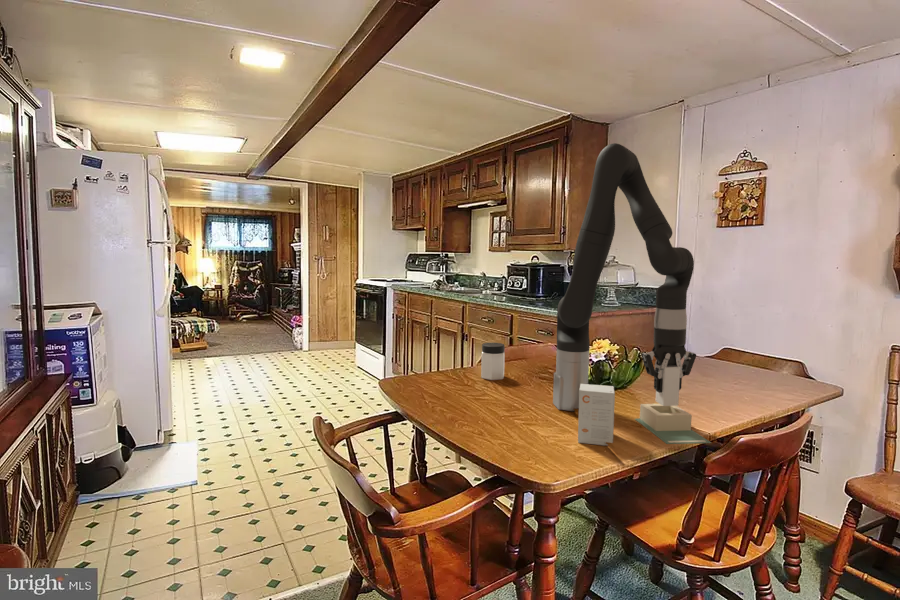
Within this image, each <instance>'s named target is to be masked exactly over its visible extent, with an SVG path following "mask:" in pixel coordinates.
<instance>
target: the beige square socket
mask: <svg viewBox="0 0 900 600" xmlns="http://www.w3.org/2000/svg"><path fill="white" fill-rule="evenodd" d="M639 406H640V407H639V418H640V419H641V420H642V421H644V422H645V423H646V424H648V425H649V426H650V427H652V428H653V429H654V430H655V431H683V430H692V416H693V415H692V414H691V413H689V411H686V410H684V409H683V408H681V407H679V405H678V406H663V405H661V404H659V403H658V402H653V403H640V405H639Z"/></svg>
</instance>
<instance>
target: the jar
mask: <svg viewBox="0 0 900 600" xmlns="http://www.w3.org/2000/svg"><path fill="white" fill-rule="evenodd" d="M505 349H506V348H505V344H504V343H501V342H484V343H482V344H481V361H480V362H481V363H480V364H481V366H480V367H481V369H480V373H481V374H480V375H481V376H480V378H481V379H483V380H484V379H486V380H489V381H499V380H503V379H504V378H505Z"/></svg>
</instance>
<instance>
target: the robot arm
mask: <svg viewBox="0 0 900 600" xmlns="http://www.w3.org/2000/svg"><path fill="white" fill-rule="evenodd" d="M592 177H593V178H592V182H591V190H590V194H589V198H588V201H587V203H586V204H587V205H586V208H585V212H584V217H583V219H582V223H581V227H580V229H579V231H578V232H579V233H578V236H577V240H576V244H575V248H574V255H573V256H574V257H573V262H572V263H573V265H572V273H571V276H570V281H569V283H568V286H567V289H566V292H565V294H564V296H563V297H562V298H561V299H560V300H559V302H558V305H557V310H556V311H557V312H556V313H557V314H556V359H555V362H556V365H555V372H553V388H552V389H553V390H552V391H553V393H552V404H553V405H554V406H555V408H556V409H557V410H561V411H569V412H575V409H576V410H577V409H578V410H579V389H580V384H589V372H590V371H589V370H590V369H589V366H590V364H589V363H590V319H591V318H592V314H593V308H594V302H595V297H596V296H595V295H596V291H597V285H598V282H599V281H600V280H599V279H600V276H601V275H602V273H603V271H604V270H603V269H604V268H605V264H606V262H607V258H608V256H609V252H610V249H611V247H612V243H613V241H614V236H615V232H616V231H615V230H616V210H615V209H616V208H615V206H616V205H615V202H616V195H617V192H618V191H617V190H618V189H620V190H621V192H622V193H623V194H624V196H625V198H626V200H627V202H628V205H629V208H630V212H631V216H632V219H633V221H634V224H635V227H636V229H638V232H639V233H640V235H641V237H642V239H643V240H644V242H645V248H646V251H647V256H648V259H649V262H650V266H651V267H652V269H654V271H655V272H656V273H657V274H659V275H661V276H665V280H664V283H663V284H662V285H659V286H658V287H657V289H656V293H655V294H656V295H655V298H656V299H655V300H656V301H655V311H654V318H653V320H654V321H653V348H652V349H651V351H649V352H642V353H641V358H642V362H643V364H644V369H645V372H646V374H647V375H650V376H651V377H653V389H654V390H655V392H656V391H657V392H659V393H661V392H662V384H663V379H662V376H663V370H664V367H667V365H676V366H677V367H680V382H679V391H680V390H681V389H682V384H683V383H682V382H683V377H685V376H690V374H691V371H692V368H693V366H694V363H695V360H696V358H697V354H696V353H694V352H693V351H687V350H686V346H685V345H686V342H687V341H686V340H687V325H688V324H687V323H688V317H687V298H688V296H687V293H688V290H689V287H690V283H691V281H692V276H693V272H694V267H695V260H694V256H693V254H692V252H691V251H690V250H689V249H688V248H685V247H683V246H682V247H679V246H678V247H677V246H676V247H674V246H673V245H672V244H671V241H670V239H672V236H673V230H672V227H671V226H670V225H671V224H670V223H669V222H668V220H667V218H666V216H665V214H664V212H663V211H662V210H661V208H660V206H659V204H658V203H657V202H656V200H655V198H654V196H653V194H652V192H651V190H650V188H649V186H648V183H647V182H646V178H645V176H644V173H643V169H642V167H641V165H640V161H639V159H638V157H637V155H636V154H635V153H634V152H633V151H632V150H630V149H629V148H627V147H625V146H624V145H622V144H621V143H615V142H613V143H609V144H608V145H606V146H605V147H604V148H603V149H602V150H600V152H599V154H598V156H597V157H596V161H595V166H594V171H593V176H592ZM654 358H655V363H654V364H653V360H654ZM683 359H684V360H683ZM682 360H683V362H682ZM660 364H661V366H660Z"/></svg>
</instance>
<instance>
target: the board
mask: <svg viewBox="0 0 900 600" xmlns="http://www.w3.org/2000/svg"><path fill="white" fill-rule="evenodd" d="M634 420H635V421H636V422H638V423H639V424H640V425H642V426H643V427H644V428H645V429H647V430H648V431H650V433H652V434H653V435H654V436H656V437H657V438H658V439H660V440H661V441H662V442H664V444H666V445H686V444H687V445H688V444H689V445H690V444H712V442H711V441H710V440H708V439H706V438H705V437H704V436H703V435H700V434H699V433H698V432H696V431H694V430H693V429H691V430H683V431H655V430H654V429H653V428H652V427H650V426H649V425H648V424H646V423H645V422H644V421H642V420H641V419H640V417H639V418H634Z"/></svg>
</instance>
